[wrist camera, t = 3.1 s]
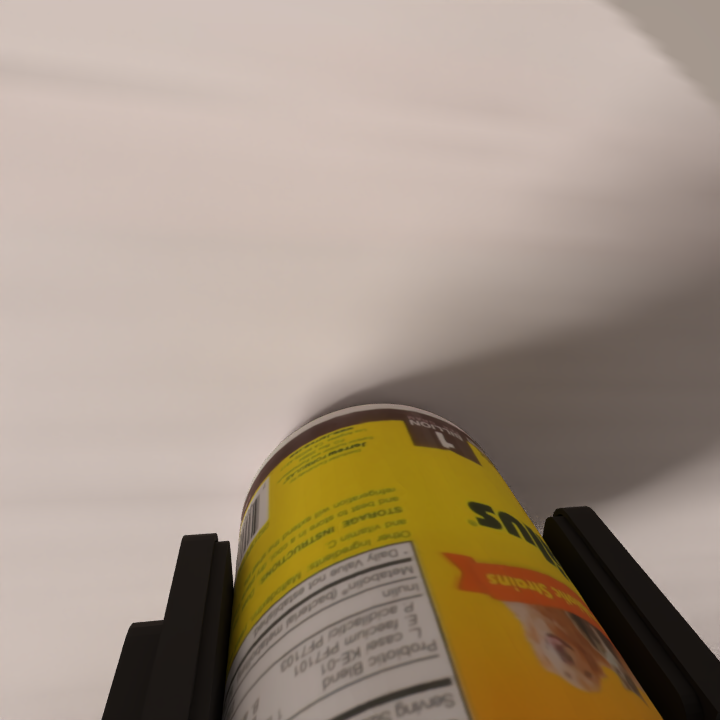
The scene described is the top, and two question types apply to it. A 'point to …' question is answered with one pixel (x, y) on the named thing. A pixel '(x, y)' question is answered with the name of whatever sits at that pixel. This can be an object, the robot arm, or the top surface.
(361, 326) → the top surface
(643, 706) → the supplement bottle
